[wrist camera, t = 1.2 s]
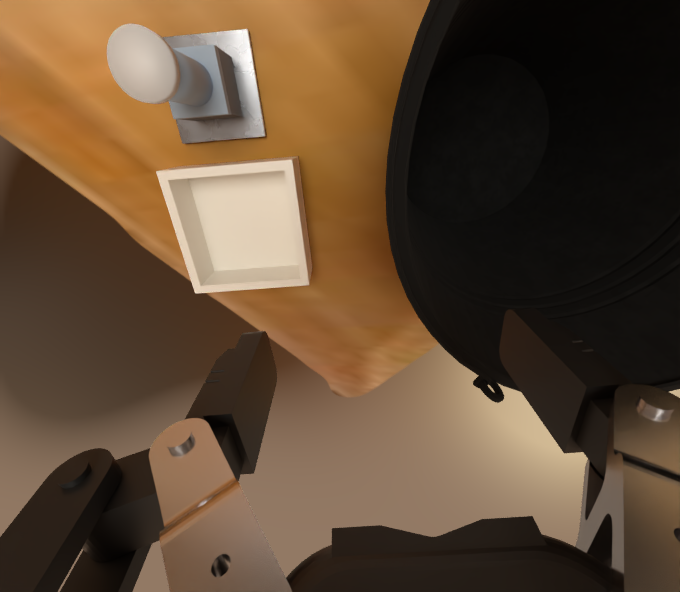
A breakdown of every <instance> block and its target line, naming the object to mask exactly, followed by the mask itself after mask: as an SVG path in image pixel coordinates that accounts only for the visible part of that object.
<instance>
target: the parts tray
mask: <svg viewBox="0 0 680 592" xmlns="http://www.w3.org/2000/svg"><path fill="white" fill-rule="evenodd" d="M156 173H157V176H158V179H159V182H160V185H161V189H162V192H163V195H164V198H165V201H166V204H167V207H168V210H169V213H170V216H171V220H172V223H173V226H174V229H175V232H176V235H177V238H178V241H179V244H180V247H181V251H182V254H183V257H184V260H185V263H186V266H187V269H188V272H189V275H190V278H191V282H192V284H193V288H194V291H195V293H209V292H222V291H236V290H250V289H263V288H277V287H291V286H304V285H309V283H310V278H311V273H312V261H311V253H310V245H309V237H308V229H307V222H306V214H305V206H304V198H303V190H302V182H301V174H300V167H299V159H298V156H295V157H283V158H272V159H260V160H249V161H237V162H226V163H214V164H202V165H191V166H179V167H175V168H170V169H165V170H160V171H156Z"/></svg>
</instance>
